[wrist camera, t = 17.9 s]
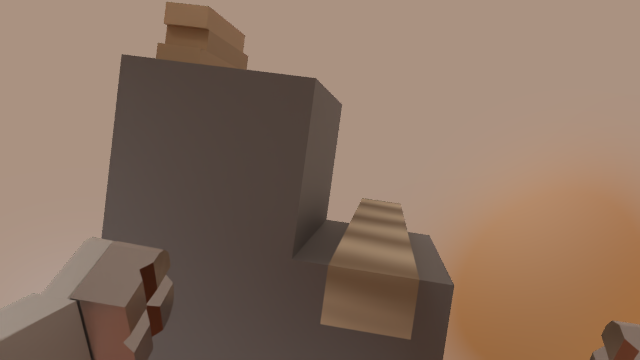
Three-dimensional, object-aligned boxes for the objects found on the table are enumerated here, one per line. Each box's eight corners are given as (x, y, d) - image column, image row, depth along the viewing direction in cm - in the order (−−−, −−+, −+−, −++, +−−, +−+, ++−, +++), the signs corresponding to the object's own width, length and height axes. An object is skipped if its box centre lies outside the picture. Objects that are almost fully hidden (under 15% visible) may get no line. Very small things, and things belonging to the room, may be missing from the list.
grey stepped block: (403, 615, 28) (494, 22, 26) (68, 539, 30) (129, -18, 28) (397, 447, 44) (454, 70, 42) (178, 405, 46) (222, 42, 44)
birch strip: (410, 339, 18) (419, 279, 18) (320, 323, 19) (328, 265, 19) (396, 228, 44) (400, 203, 44) (359, 223, 44) (362, 198, 44)
